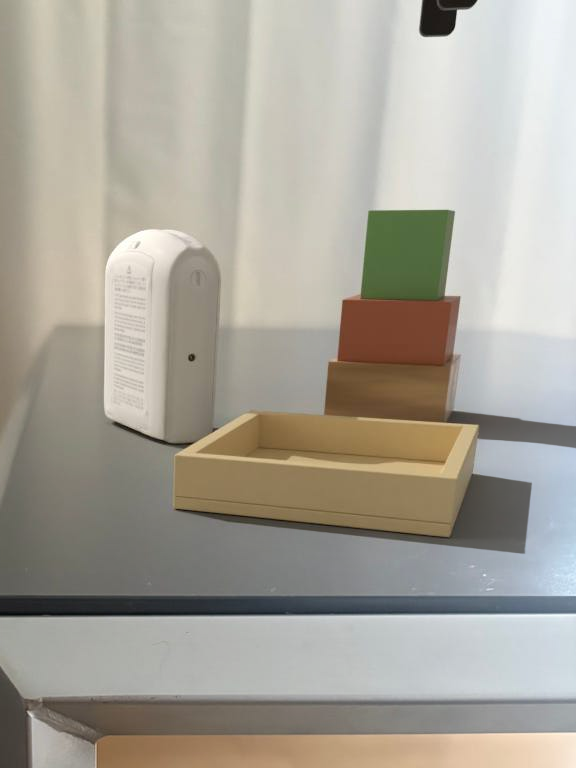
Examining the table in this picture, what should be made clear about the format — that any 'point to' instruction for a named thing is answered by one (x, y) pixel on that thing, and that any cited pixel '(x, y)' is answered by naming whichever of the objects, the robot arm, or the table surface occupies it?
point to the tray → (331, 471)
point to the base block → (392, 390)
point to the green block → (407, 254)
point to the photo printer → (162, 335)
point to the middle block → (398, 330)
